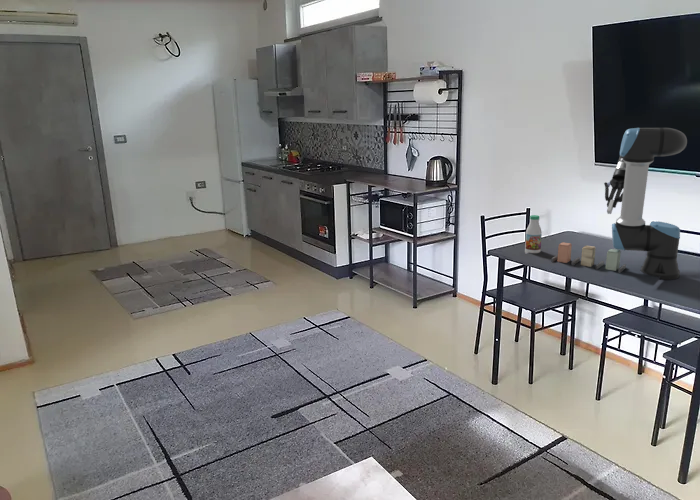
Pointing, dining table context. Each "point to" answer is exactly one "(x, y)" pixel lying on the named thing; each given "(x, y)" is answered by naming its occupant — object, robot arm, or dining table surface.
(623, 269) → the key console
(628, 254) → the dining table surface
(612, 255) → the sage green block
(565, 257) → the salmon pink block
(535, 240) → the milk bottle
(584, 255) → the birch key
